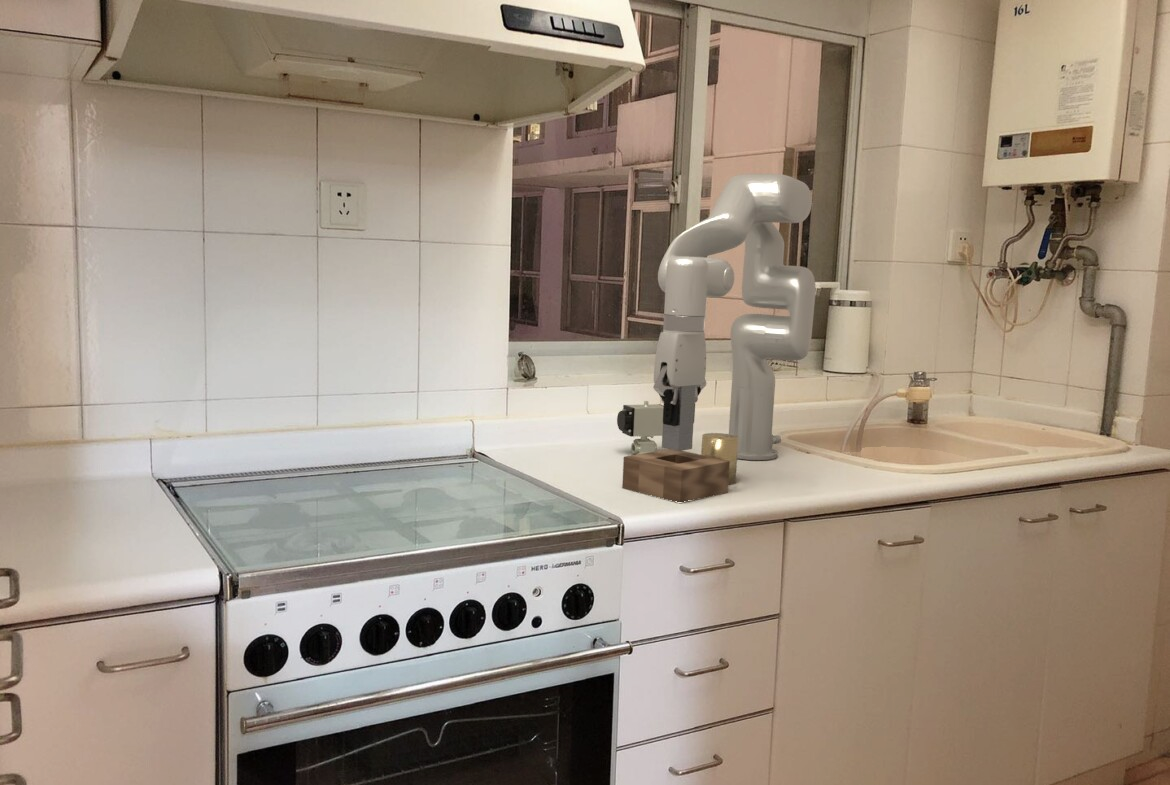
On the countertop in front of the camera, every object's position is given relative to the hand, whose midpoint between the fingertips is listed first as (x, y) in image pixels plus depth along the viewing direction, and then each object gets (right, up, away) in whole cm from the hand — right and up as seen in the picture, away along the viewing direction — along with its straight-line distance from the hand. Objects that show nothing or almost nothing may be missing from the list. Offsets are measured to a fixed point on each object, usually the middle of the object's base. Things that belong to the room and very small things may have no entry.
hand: (678, 422), depth 182 cm
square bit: (0, -5, +1) cm, 5 cm away
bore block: (0, -13, +2) cm, 13 cm away
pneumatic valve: (-5, -8, +34) cm, 35 cm away
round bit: (+9, -12, +11) cm, 18 cm away
